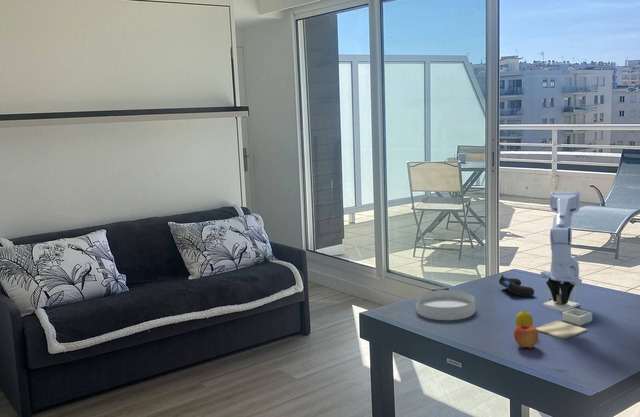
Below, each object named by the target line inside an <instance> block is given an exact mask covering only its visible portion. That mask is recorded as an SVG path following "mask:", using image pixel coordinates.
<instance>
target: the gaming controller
mask: <svg viewBox="0 0 640 417" xmlns="http://www.w3.org/2000/svg"><path fill="white" fill-rule="evenodd" d="M498 283H499V285H500V286H503V287H504V288H506V290H507V291H508V292H510V293H512V294H513V295H517V296H521V297H527V298H528V297H529V298H531V297H533V296H534V294H535V290H534V289H533V287H530V286H524V285H522V281H521V279H519V278H511V277H509V278H507V277H505V276H504V274H502V275H501V276H500V278H499V280H498Z"/></svg>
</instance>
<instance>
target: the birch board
mask: <svg viewBox="0 0 640 417" xmlns="http://www.w3.org/2000/svg"><path fill="white" fill-rule="evenodd" d="M535 328H536V329H537V331H538V333H542V334H546V335H549V336H552V337H555V338H558V339H560V340H563V341H565V340H567V339H570V338H572V337H575V336H577V335H580V334H583V333H586V332H588V329H587V328H584V327H581V326H579V325H576V324H572V323H569V322H565V321H560V320H553V321H550V322H548V323H545V324H542V325H539V326H537V327H535Z"/></svg>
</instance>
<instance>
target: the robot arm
mask: <svg viewBox="0 0 640 417" xmlns="http://www.w3.org/2000/svg"><path fill="white" fill-rule="evenodd" d="M549 206H550V209H551V212H553V213H556V214H555V215H554V217H553V220H552V221H553V222H552V228H550V230H549V231H550V233H549V241H550V250H551V262H550V271H545V270H544V271H540V278H541V279H547V280H546V282H545V283H546V285H547V288H546V289H547V290H546V291H547V292H546V296H547V297H546V299H547V300H546V302H548V301H551V300H553V301H554V302H556V294H562V304H566V303H568V301H571V302H575V303H576V298H575V297H576V287H580V286H582V284H583V283H582V282H583V281H582V280H583V279H581V278H580V267H579V264H580V263H579V261H578V260H577V259H575V258H574V257H573V256H572V242H573V240H572V238H573V235H572V234H573V233H572V232H573V231H572V217H573V215H574V214H576V213H578V212H579V210H580V192H579V191H577V190H576V191H555V190H554V191H553V190H552V191H551V192H550V193H549ZM580 305H581V304H580V303H579V306H580Z"/></svg>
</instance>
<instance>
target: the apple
mask: <svg viewBox="0 0 640 417" xmlns="http://www.w3.org/2000/svg"><path fill="white" fill-rule="evenodd" d="M513 337H514V340H515V342H516V343H517V345H518V346H519V347H521V348H522V349H524V348H528V349H532V348H533V347H534V346H535V345H536V343H537V342H538V341H539V340H538V339H539V331H537V329H536V327H535V326H534V325H533V326H530V325H522V323H521V325H519V326H517V327H515V329H514V332H513Z"/></svg>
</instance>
